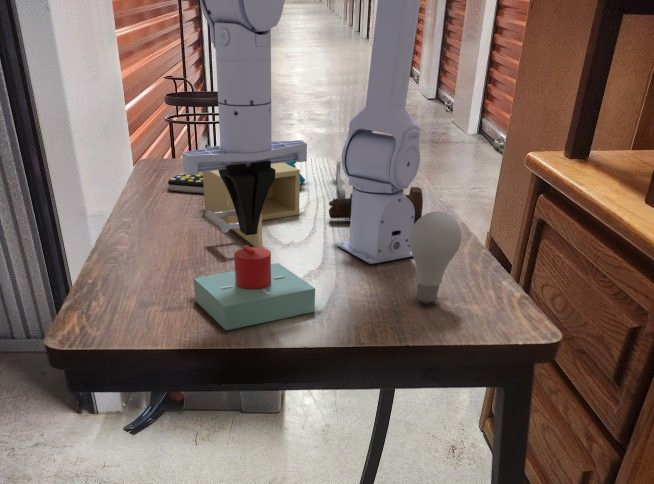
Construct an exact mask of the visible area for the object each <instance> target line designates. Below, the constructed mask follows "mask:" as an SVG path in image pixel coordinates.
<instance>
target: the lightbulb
mask: <svg viewBox="0 0 654 484" xmlns="http://www.w3.org/2000/svg"><path fill="white" fill-rule="evenodd" d="M461 242H462V230H461V226H460V224H459V222H458V221H457V219H456V218H454V217H453V216H452V215H451V214H450V213H447V212H445V211H439V210H437V211H435V210H434V211H430V212H427V213H425V214H423V215H422V216H421V218H419V219H418V220H417V221H416V223H415V224H414V225H413V227H412V230H411V233H410V236H409V245H410V249H411V252H412V255H413V256H412V258H413V260H414V263H415V267H416V269H415V270H416V277H415V278H416V280H415V281H416V282H417V287H416V288H417V289H416V298H417V299H418V300H419V301H421V303H423V304H430V303H431V302H434V301H436V300H437V298H438V293H439V288H440V285H441V284H442V282H443V278H444V274H445V271H446V269H447V267H448V266H449V263H450V262H451V261H452V260H453V259H454V257H455V256H456V254H457V253H458V251H459V249H460V246H461V244H462V243H461Z"/></svg>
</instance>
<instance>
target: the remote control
mask: <svg viewBox="0 0 654 484" xmlns="http://www.w3.org/2000/svg"><path fill="white" fill-rule="evenodd" d="M167 187H168V189H169V191H171V192H179V193H192V194H202V195H204V184H203V175H201V174H193V175H189V174H187V173H185V174H184V173H178V174H177V175H174V176H173V177H172V178H170V179H168V180H167Z"/></svg>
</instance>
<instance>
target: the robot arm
mask: <svg viewBox="0 0 654 484" xmlns="http://www.w3.org/2000/svg"><path fill="white" fill-rule="evenodd" d="M421 1H422V0H377V3H376V12H375V21H374V29H373V39H372V48H371V56H370V64H369V72H368V73H369V74H368V83H367V90H366V91H367V92H366V100H365V106H364V108H363V109H361V110H360V111H359V112H358V113H357V114H356V115H355V116H354V117H352V118H351V120H350V121H349V122H348V123H349V125H348V131H347V136H346V139H345V142H344V145H343V147H342V151H341V167H342V171H343V173H344V175H345V176H346V177H347V178H348V186H352V188H351V189H352V190H351V191H352V192H351V193H352V205H351V221H350V220H349V222H350V223H349V236H348V237H349V238H348V240H343V241H338V242H337V246H338V247H339V248H341V249H342V250H344V251H346V252H348V253H350V254H352V255H353V256H355V257H357V258H359V259H360V260H362V261H364V262H366V263H367V264H370V265H374V264H380V263H384V262H389V261H395V260H400V259H405V258H411V257H413V255H412V252H411V249H410V245H409V236H410V233H411V230H412V227H413V225H414V218H415V210H414V206H413V204H412V202H411V201H410V200H409V199H408V198H407V197H406V196H405V195H406V194H405V189H408V188H409V186H410V185H411V184H412V182H413V181H414V179H415V178H416V177H417V174H418V171H419V168H420V163H421V151H420V136H421V130H422V129H421V126H419V124H418V122H416V120H415V119H414V118H413V117H412V115H410V113H409V112H408V111H407V108H406V106H407V97H408V91H409V85H410V78H411V70H412V63H413V57H414V51H415V44H416V43H415V42H416V35H417V28H418V22H419V16H420V7H421ZM199 2H200V8H201V11H202V14H203V16H204V18H205V20H206V22H207V24H208V26H209V30H210V42H211V44H213V48H214V49H215V65H216V67H215V68H216V85H217V88H216V89H217V102H218V103H217V104H218V105H217V107H218V121H219V122H218V126H219V145H215V146H209V147H205V148H200V149H195V150H189V151H182V152H181V159H182V170H183V172H185V174H186V175H199V173H203V172H205V171H214V170H219V174H220V176H221V178H222V180H223V182H224V184H225V186H226V188H227V190H228V192H229V195H230V197H231V199H232V202H233V205H234V208H235V211H236V215H237V218H238V223H239V227H240V231H241V232H242V233H244V234H245V235H253V234H257V229H258V224H259V219H260V215H261V211H262V208H263V204H264V202H265V199H266V196H267V194H268V192H269V189H270V187H271V185H272V184H273V182H274V180H275V169H273V168H271V164H275V163H284V162H292V161H297V162H296V163H306V162H307V161H308V143H307V142H305V141H304V142H302V141H303V140H302V141H300V140H301V139H298V140H297V139H295V140H276V141H275V140H273V141H272V29H273V28H275V27H277V25H278V24H279V22H280V20H281V17H282V15H283V11H284V6H285V2H286V0H199ZM376 132H378V133H376ZM383 133H384V134H383Z"/></svg>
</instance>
